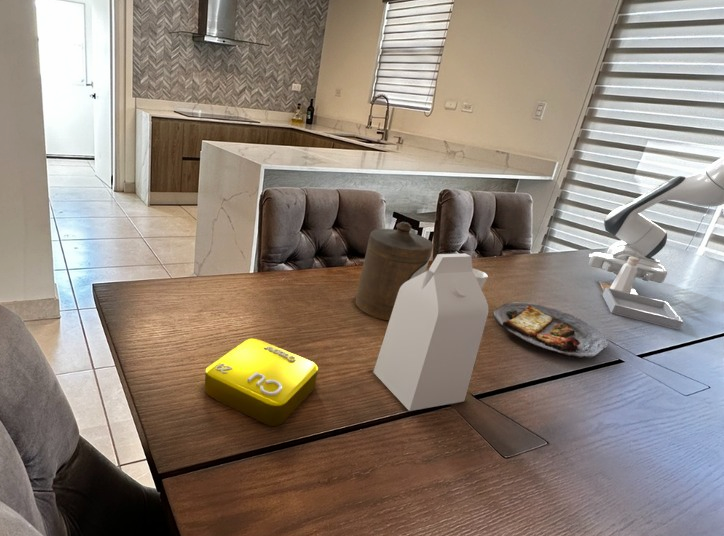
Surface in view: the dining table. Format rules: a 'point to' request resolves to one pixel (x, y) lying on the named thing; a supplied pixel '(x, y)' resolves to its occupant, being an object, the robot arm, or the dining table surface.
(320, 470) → the dining table surface
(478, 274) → the cup
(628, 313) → the tray
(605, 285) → the coaster
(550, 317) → the food plate
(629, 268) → the pepper shaker
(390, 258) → the wooden container
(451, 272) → the milk
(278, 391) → the element tile
